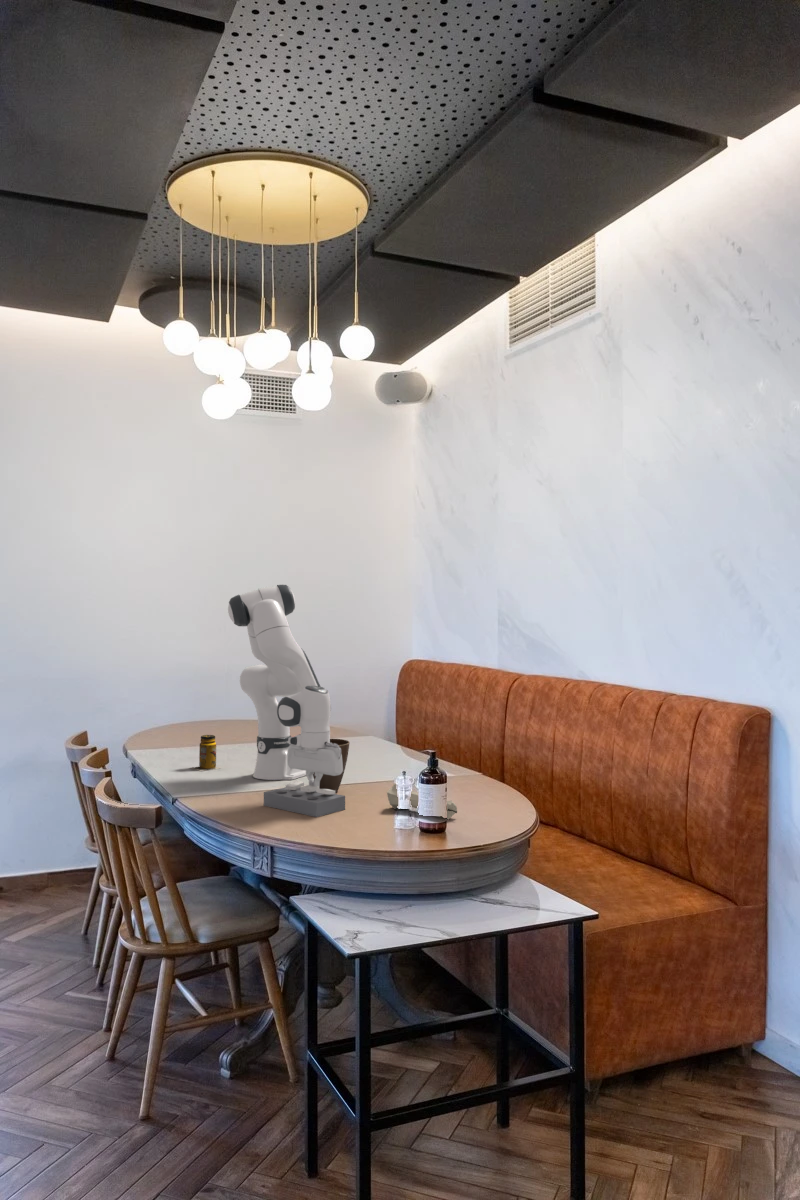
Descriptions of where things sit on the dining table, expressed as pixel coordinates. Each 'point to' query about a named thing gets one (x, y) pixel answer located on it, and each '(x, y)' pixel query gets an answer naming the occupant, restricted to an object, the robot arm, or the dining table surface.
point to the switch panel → (304, 801)
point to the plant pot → (335, 781)
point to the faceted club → (414, 801)
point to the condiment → (207, 753)
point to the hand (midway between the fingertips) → (314, 786)
